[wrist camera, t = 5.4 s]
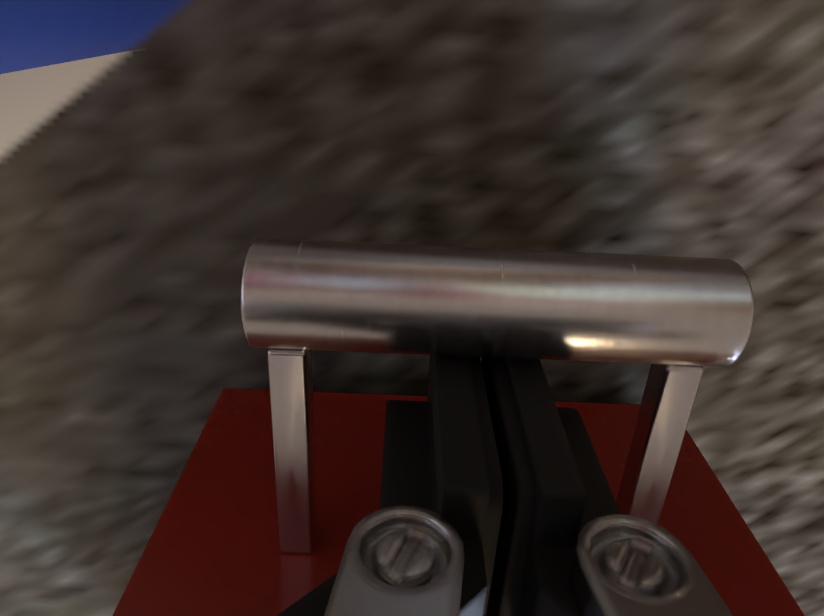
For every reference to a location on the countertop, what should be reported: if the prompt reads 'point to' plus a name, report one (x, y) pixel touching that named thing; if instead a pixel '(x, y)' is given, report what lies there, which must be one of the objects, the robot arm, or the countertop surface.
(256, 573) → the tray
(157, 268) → the countertop surface
